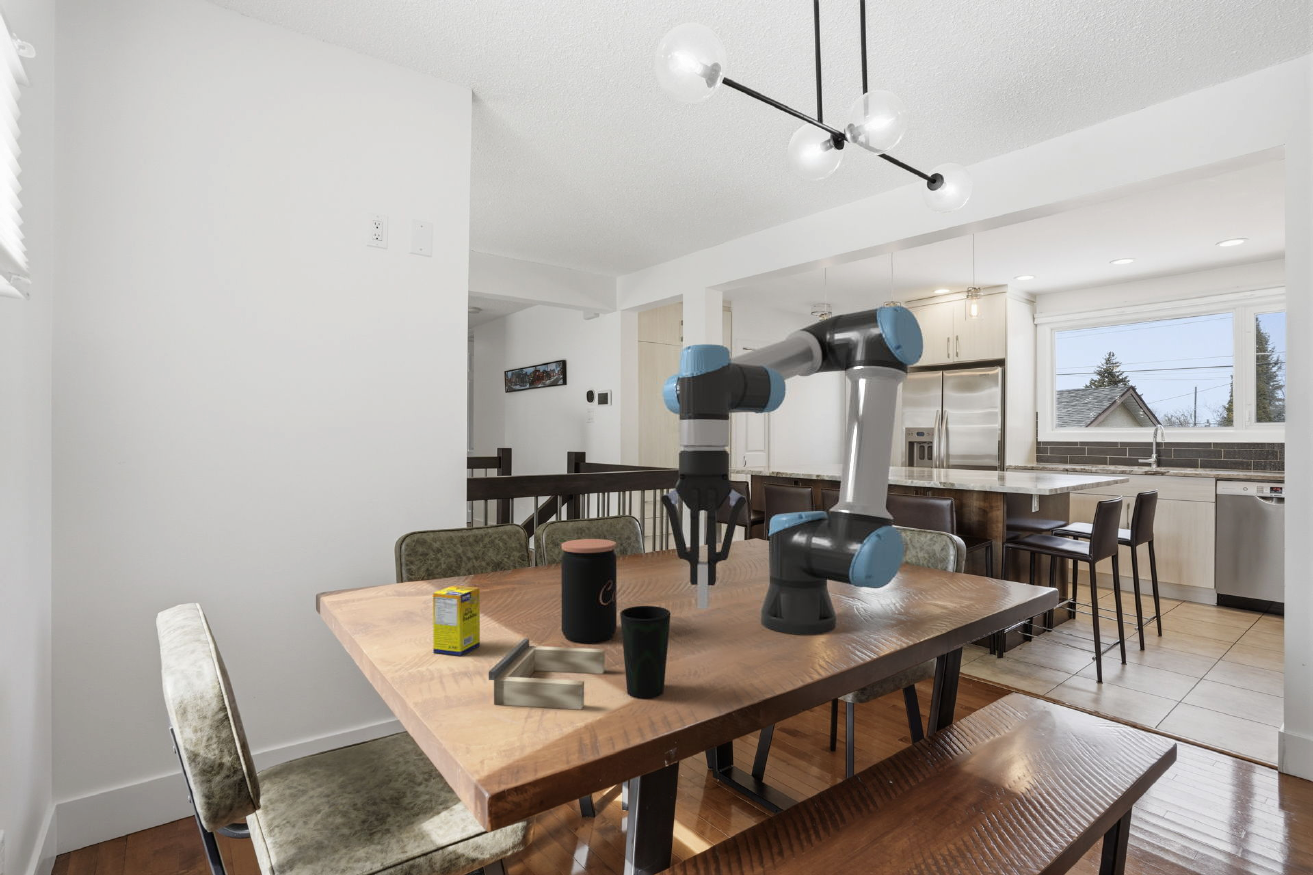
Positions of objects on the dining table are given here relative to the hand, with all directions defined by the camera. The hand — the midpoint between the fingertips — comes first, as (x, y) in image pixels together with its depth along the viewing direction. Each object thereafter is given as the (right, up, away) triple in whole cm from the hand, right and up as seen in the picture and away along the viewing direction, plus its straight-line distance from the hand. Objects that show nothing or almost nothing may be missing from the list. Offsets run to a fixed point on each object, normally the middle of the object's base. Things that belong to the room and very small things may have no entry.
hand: (703, 606), depth 93 cm
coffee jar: (-20, -14, +28) cm, 37 cm away
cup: (-9, -14, +1) cm, 16 cm away
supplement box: (-43, -14, +20) cm, 50 cm away
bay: (-23, -13, +3) cm, 26 cm away
